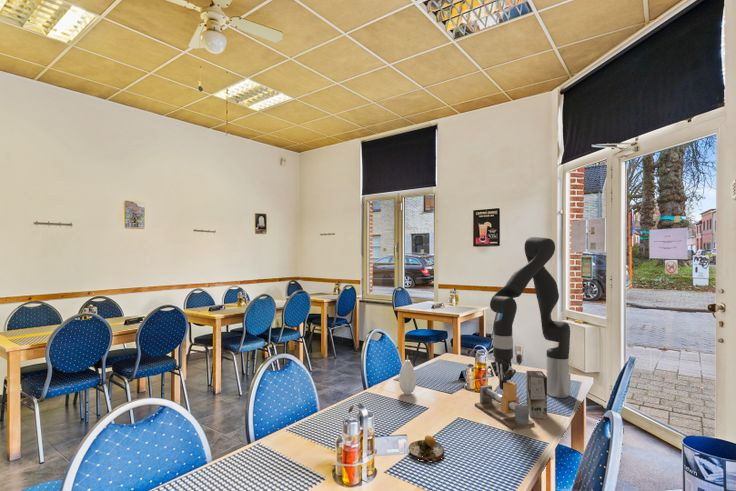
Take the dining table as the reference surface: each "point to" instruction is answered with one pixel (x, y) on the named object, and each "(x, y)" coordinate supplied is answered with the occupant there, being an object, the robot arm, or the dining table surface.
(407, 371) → the white teardrop vase
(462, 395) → the dining table surface
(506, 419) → the base board
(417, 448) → the bowl of food
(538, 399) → the coffee box
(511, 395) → the collar
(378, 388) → the dining table surface
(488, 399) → the pipe
